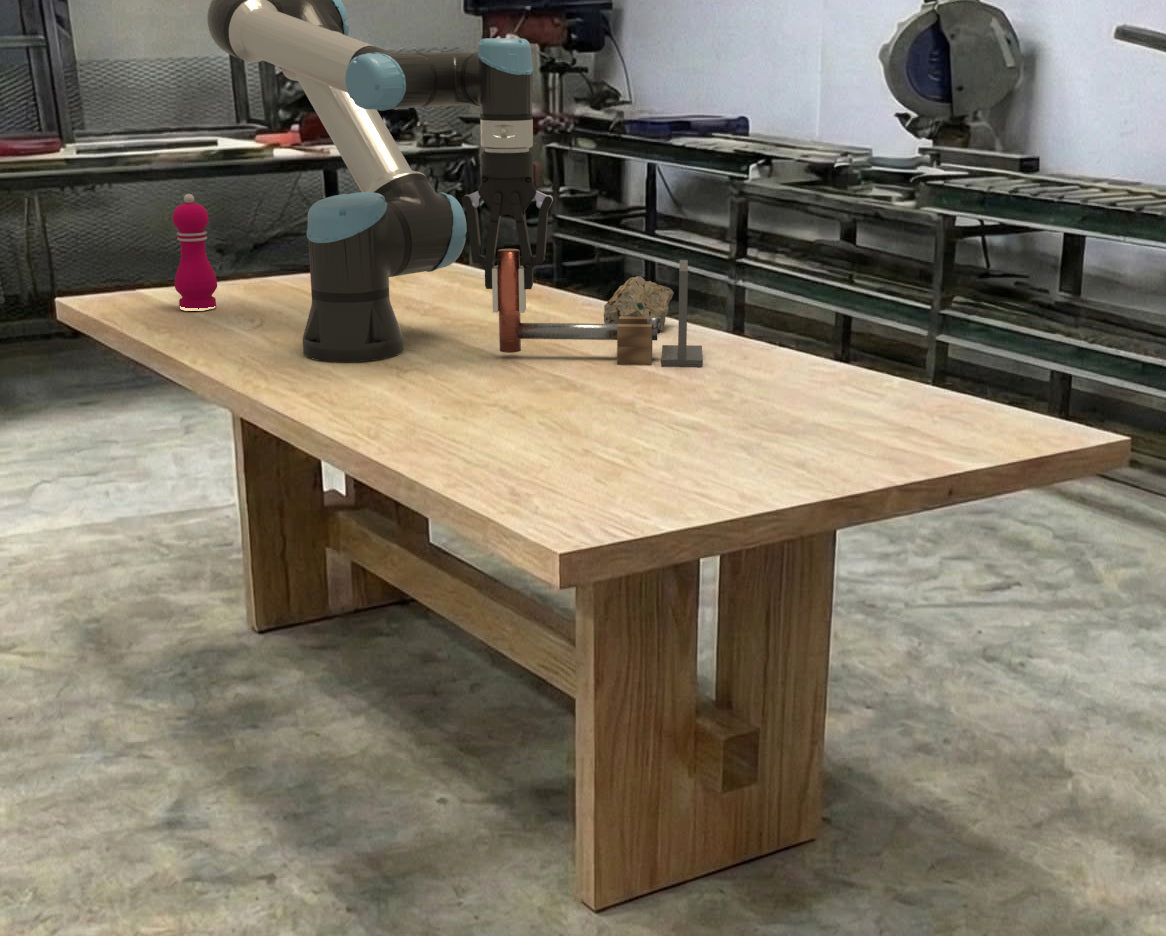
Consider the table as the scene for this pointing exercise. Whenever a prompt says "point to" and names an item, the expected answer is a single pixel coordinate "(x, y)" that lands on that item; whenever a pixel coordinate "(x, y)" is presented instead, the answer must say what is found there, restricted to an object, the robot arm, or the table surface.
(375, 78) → the robot arm
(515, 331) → the hook
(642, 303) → the rock
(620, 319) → the cradle
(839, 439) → the table surface
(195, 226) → the pepper mill
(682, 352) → the eye bracket
